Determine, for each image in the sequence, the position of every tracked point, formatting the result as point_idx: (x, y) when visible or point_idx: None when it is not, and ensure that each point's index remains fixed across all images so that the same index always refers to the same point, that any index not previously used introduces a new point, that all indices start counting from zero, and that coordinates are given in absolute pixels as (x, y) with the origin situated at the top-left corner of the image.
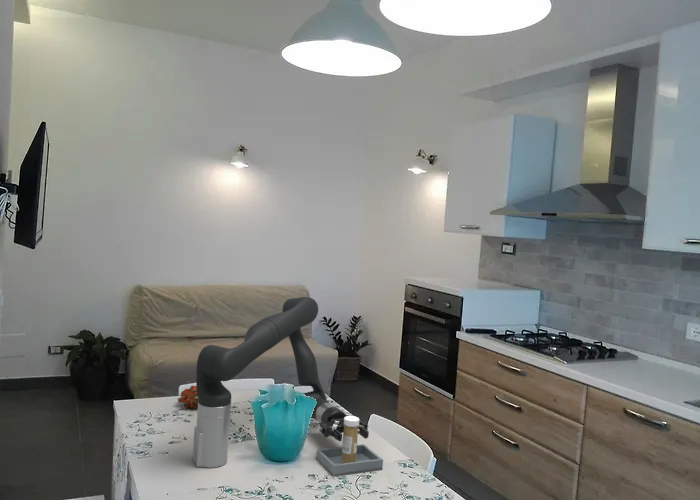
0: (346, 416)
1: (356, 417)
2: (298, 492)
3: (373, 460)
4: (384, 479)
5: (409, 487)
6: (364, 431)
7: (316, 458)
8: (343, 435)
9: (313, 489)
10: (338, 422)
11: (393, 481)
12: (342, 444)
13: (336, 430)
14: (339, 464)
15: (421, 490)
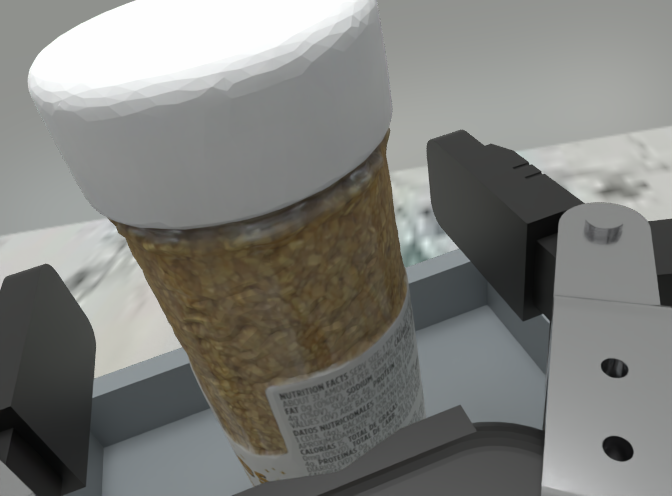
0: (300, 19)
1: (68, 49)
2: (656, 140)
3: (141, 367)
4: (155, 316)
5: (71, 264)
6: (45, 299)
7: None
8: (404, 270)
9: (585, 170)
10: (553, 493)
11: (115, 303)
12: (421, 381)
13: (529, 198)
14: (450, 263)
15: (35, 252)
